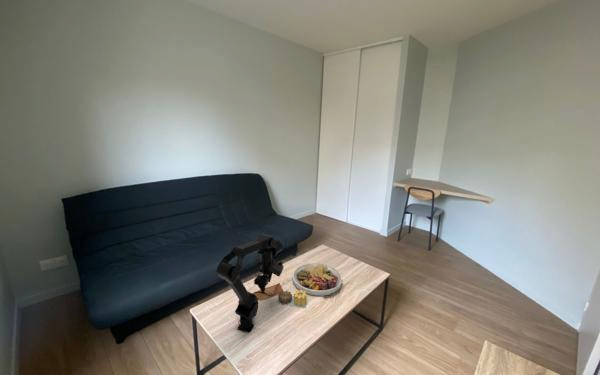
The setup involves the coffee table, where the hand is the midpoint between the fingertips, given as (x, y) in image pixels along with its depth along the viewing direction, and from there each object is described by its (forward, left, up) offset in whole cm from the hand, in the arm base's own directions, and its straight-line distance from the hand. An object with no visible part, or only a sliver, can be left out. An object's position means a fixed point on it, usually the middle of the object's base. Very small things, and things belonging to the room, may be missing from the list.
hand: (266, 287), depth 123 cm
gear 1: (+6, -8, -11) cm, 15 cm away
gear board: (+6, -12, -12) cm, 19 cm away
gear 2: (+6, -17, -11) cm, 21 cm away
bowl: (+28, -23, -12) cm, 38 cm away
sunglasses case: (+10, +2, -13) cm, 16 cm away
